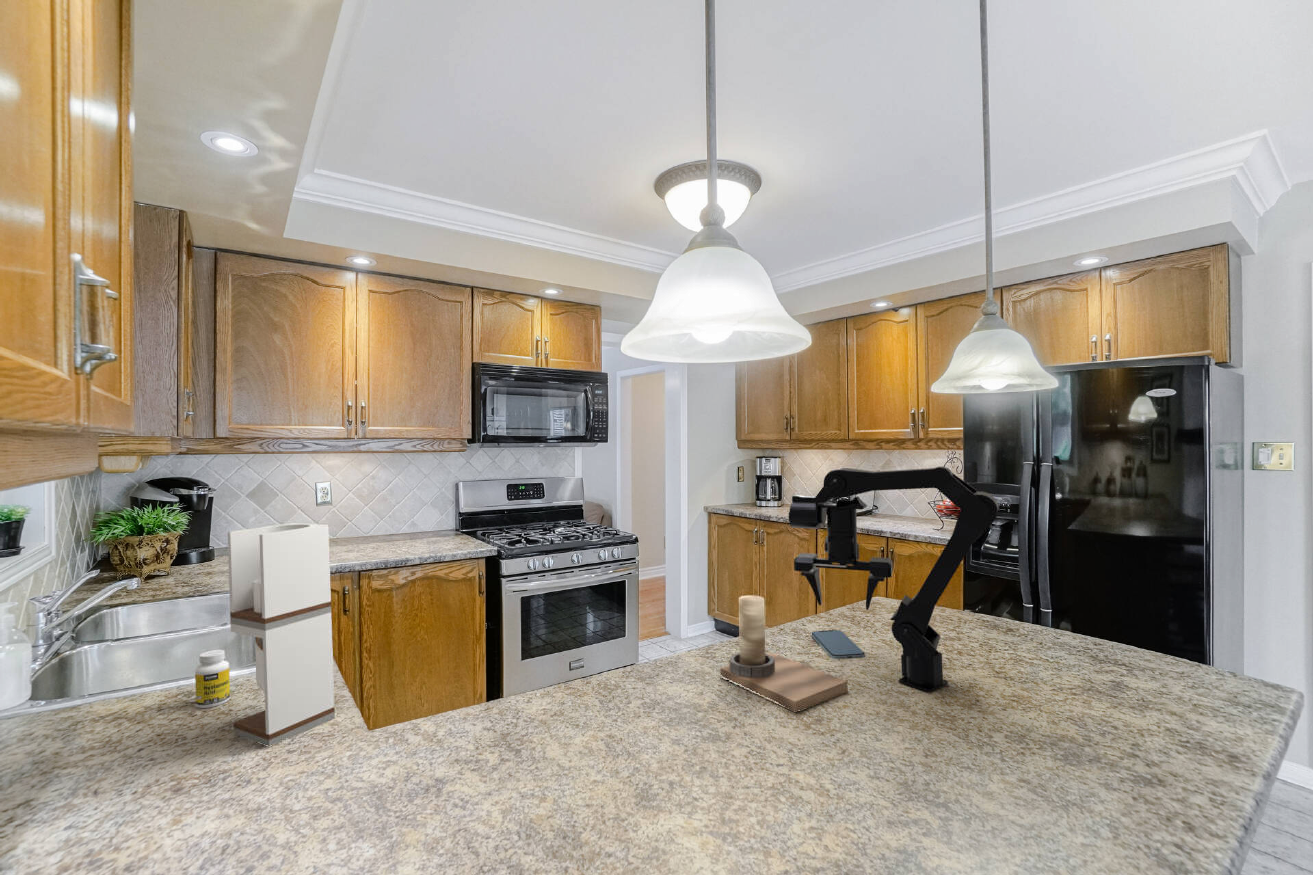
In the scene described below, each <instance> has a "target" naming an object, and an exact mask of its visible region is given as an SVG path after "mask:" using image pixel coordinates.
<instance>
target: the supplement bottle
mask: <svg viewBox="0 0 1313 875" xmlns="http://www.w3.org/2000/svg"><path fill="white" fill-rule="evenodd" d="M198 656H199V660H198V661H199V663H200V665H198V666H197V667H196V668H195V672H194V674H195V675H194V676H195V677H194V678H195V706H196V707H197V708H198V709H199V708H200V709H209V708H214V707H215V708H216V707H217V706H221V705H223V704H226V703H227V702H228V701H230V698H231V685H230V684H231V682H230V681H231V680H230V679H231V678H230V663H229V662H228V661H227V660H224V659H225V657H226V652H225V650H224V649H213V650H209V651H205V652H202V653H200V654H199V655H198Z"/></svg>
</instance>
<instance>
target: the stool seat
mask: <svg viewBox="0 0 1313 875" xmlns="http://www.w3.org/2000/svg"><path fill="white" fill-rule="evenodd" d="M719 669H720V670H719V672H720V673H719V674H720V675H722V676H723V677H725V678H727V679H729V680H732V681H733V682H736V683H738V684H741V685H742V686H744V687H746V688H749V689H750V690H752V691H755V692H756V693H759V694H760V695H764V696H765V697H768V698H770V699H772V700H774V701H776V702H778V703H779V704H781V705H783V706H785V707H786V708H789V709H790V710H793V711H795V712H797V711H798V710H802V709H804V708H807V709H809V708H811V707H810V706H812V707H815V706H816V705H815V704H817V705H819V704H821V702H822V703H824V702H826V701H828V700H831V699H834V698H836V697H839V696H840V695H844V694H845V693H848V692H849V691H848V685H849V684H848V681H847V680H846V679H842V678H840V677H838V676H835V675H833V674H832V675H831V674H830V673H827V672H824V671H821V670H819V669H817V668H813V667H810V666H808V665H805V664H803V663H800V662H797V661H794V660H792V659H789V658H787V657H784V656H781V655H779V654H776V653H773V652H767V653H766V652H765V664H763V665H758V666H748V665H741V664H740V652H737V653H735V654H732V655H731V656H730V657H729V665H726V666H723V667H720V668H719ZM823 701H824V702H823ZM808 707H809V708H808ZM786 708H785V709H786ZM790 710H789V711H790ZM802 711H803V710H802ZM797 713H798V712H797Z"/></svg>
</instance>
